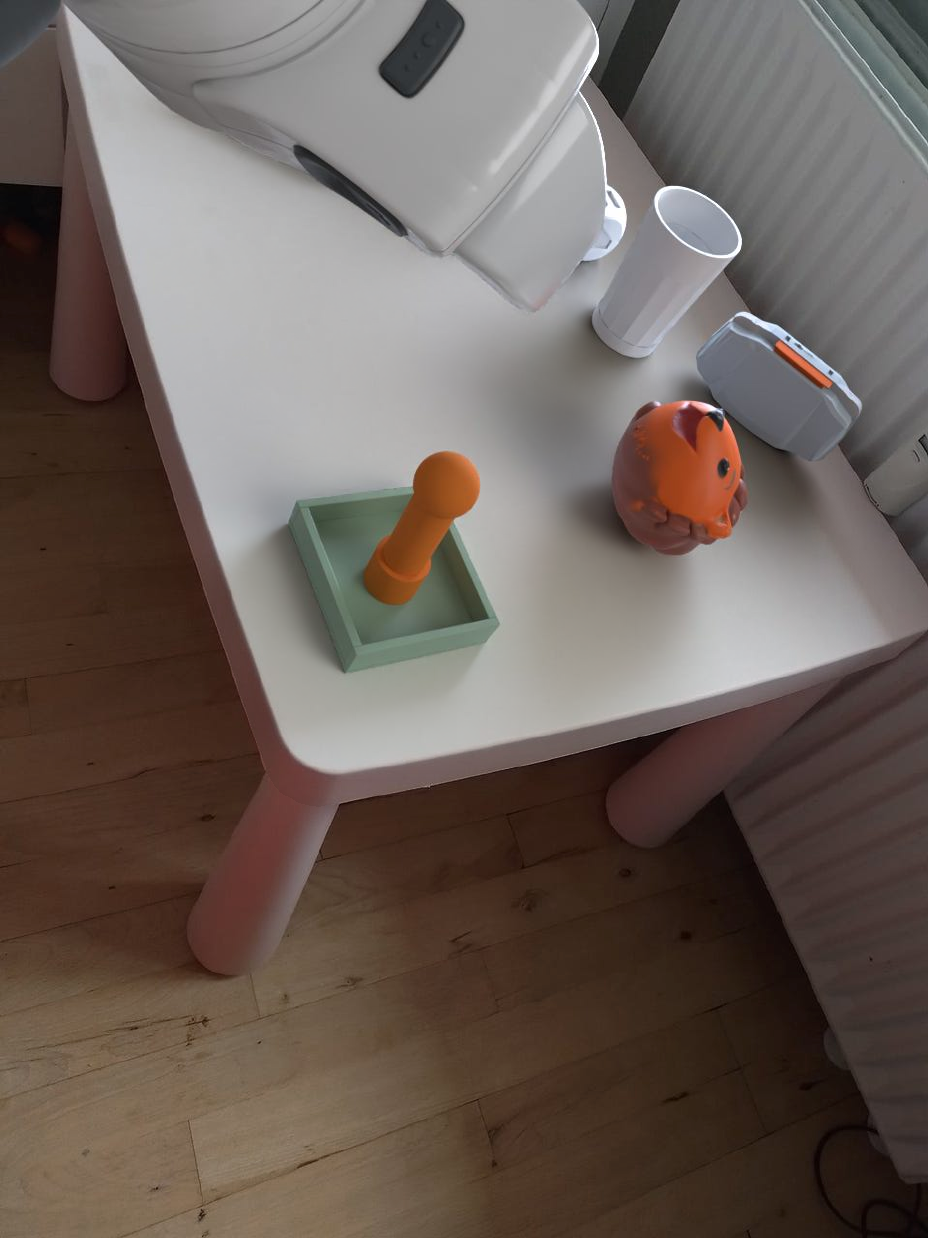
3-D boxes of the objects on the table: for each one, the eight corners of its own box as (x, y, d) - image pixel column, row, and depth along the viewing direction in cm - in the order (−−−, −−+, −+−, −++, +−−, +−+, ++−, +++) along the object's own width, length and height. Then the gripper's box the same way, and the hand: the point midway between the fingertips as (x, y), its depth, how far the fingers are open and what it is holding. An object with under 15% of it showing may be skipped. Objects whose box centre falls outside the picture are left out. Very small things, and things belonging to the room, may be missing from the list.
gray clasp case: (816, 461, 88) (879, 403, 81) (806, 478, 86) (869, 420, 79) (691, 360, 88) (743, 294, 82) (678, 375, 86) (731, 309, 80)
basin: (287, 522, 63) (296, 499, 61) (424, 503, 68) (436, 482, 66) (345, 673, 59) (356, 655, 57) (485, 642, 64) (500, 624, 62)
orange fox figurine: (582, 438, 78) (657, 336, 68) (696, 472, 81) (782, 379, 72) (588, 562, 71) (671, 468, 62) (711, 594, 74) (807, 508, 65)
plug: (355, 594, 62) (419, 476, 52) (369, 548, 64) (433, 427, 54) (410, 615, 63) (484, 503, 53) (422, 569, 65) (495, 453, 55)
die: (607, 262, 91) (634, 219, 87) (563, 260, 88) (589, 216, 84) (586, 223, 92) (611, 179, 88) (542, 221, 90) (567, 175, 86)
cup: (569, 297, 86) (637, 183, 76) (638, 296, 90) (712, 187, 80) (607, 366, 83) (683, 257, 74) (677, 363, 87) (758, 258, 77)
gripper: (-154, -226, 24) (111, 49, 38) (484, 290, 23) (518, 380, 37) (-12, -461, 23) (206, -93, 37) (655, 68, 23) (626, 243, 36)
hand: (366, 147), depth 37 cm, fingers open, 8 cm apart
